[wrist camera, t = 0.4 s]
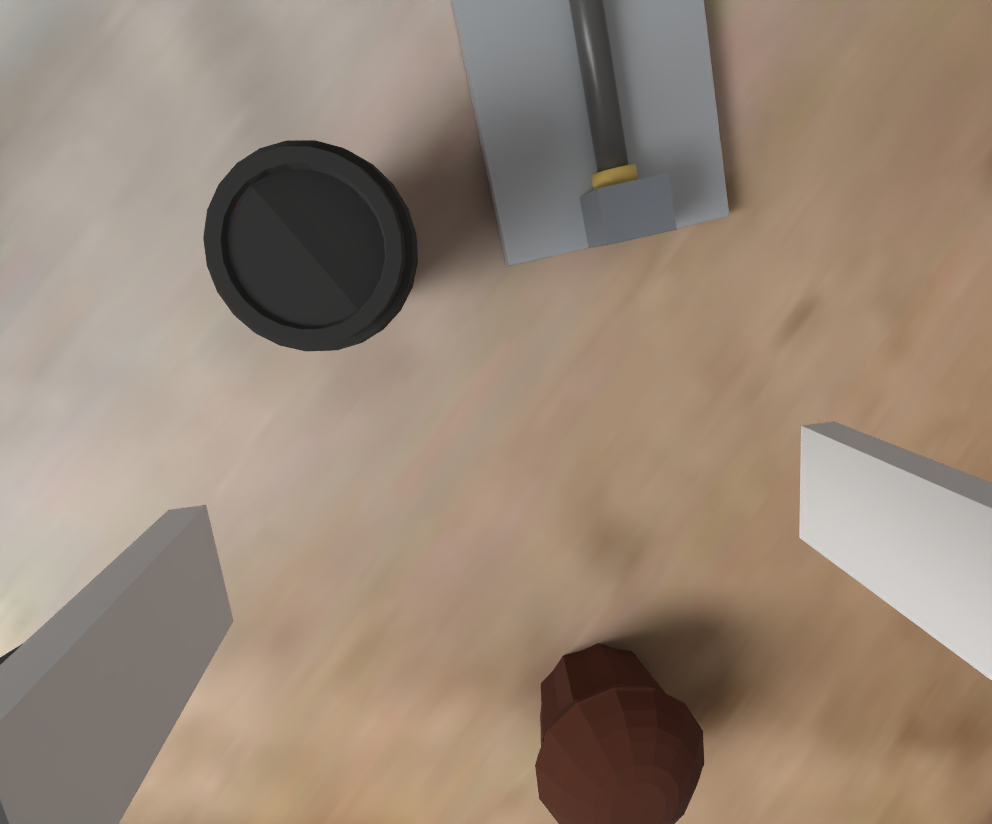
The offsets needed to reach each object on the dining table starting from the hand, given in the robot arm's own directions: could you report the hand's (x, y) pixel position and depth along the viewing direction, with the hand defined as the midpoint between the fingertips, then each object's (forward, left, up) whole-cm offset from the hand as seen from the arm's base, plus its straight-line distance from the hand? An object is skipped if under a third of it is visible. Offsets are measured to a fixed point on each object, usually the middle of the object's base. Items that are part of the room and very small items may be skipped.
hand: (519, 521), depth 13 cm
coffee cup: (-7, -5, -27) cm, 29 cm away
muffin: (+28, +4, -27) cm, 39 cm away
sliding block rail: (-18, +11, -27) cm, 34 cm away
